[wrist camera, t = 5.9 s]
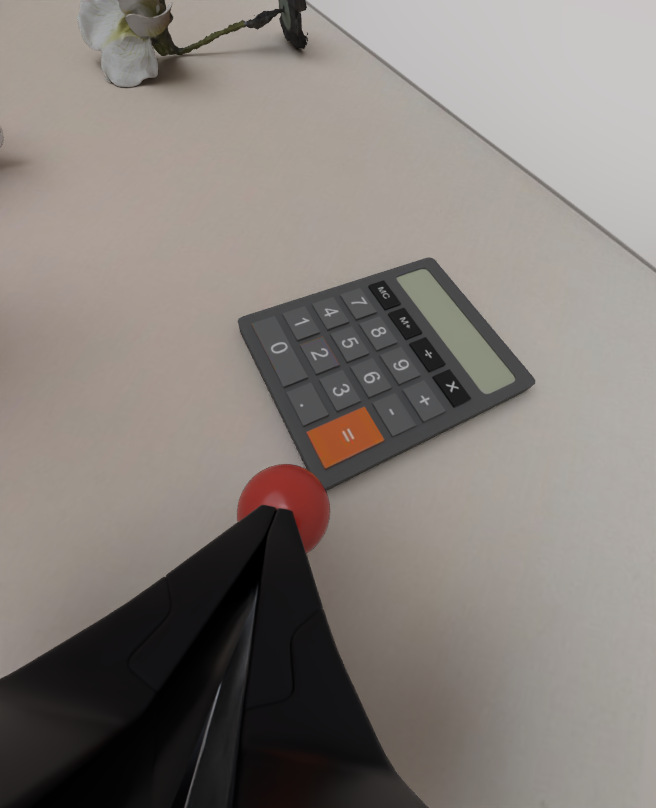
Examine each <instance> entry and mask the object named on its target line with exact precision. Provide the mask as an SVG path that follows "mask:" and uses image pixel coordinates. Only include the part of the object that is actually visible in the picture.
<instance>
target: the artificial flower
mask: <svg viewBox="0 0 656 808" xmlns="http://www.w3.org/2000/svg"><path fill="white" fill-rule="evenodd" d="M171 7H172V2H171V3H170V4H169V5H168V7H167V9H166V5H165V0H81V4H80V12H79V14H78V17H77V20H78V24H79V28H80V31H81V35H82V37H83V39H84V41H85V43H86V44H87V45H88V46H89V47H90V48H92V49H94V50H97V51H101V52H102V60H101V68H102V70H103V72H104V73H105V74H106V76H107V77H106V76H105V78H106V80H107V81H108V82H109V83H111V82H110V81H112V82H113V83H114V84H115V85H116V86H119V87H134V86H136V85H138V84H140V83H141V82H142V81H143V80H144V79H147V78H155V77H156V76H157V74H158V62H157V58H156V56H155V52H154V50H153V48H154V49H155V50H156V51H157V52H158V53H159V54H160V55H161V56H166V55H168V54H169V55H174V54H177V55H182V54H185V53H189V52H191V51H192V50H193V49H198V48H199V47H201V46H202V45H206V44H208V43H210V42H212V41H213V40H214V39H215V38H218V37H219V36H221V35H224V34H228V33H230V32H233V31H237V30H239V29H240V28H242V27H246V26H247V27H249V28H255V29H259V28H261V27H263V26H264V25H265V24H267V23H269V22H270V21H271V20H272V18H273V17H275V16H276V15H277V14H278V13H281V16H280V18H279V19H280V24H281V27H282V29H283V33H284V36H285V38H286V40H287V41H291V43H292V44H294V46H295V47H296V48H297V49H298V48H303V49H304V48H305V45H307V42H308V39H307V36H305V35H304V34H303V31H302V25H301V11H304V10H306V8H307V6H306V2H305V0H279V9H275V10H274V11H263V12H262V13H260V14H258V15H257V16H256V18H255V19H253V20H251V19H250V20H249V21H246V22H245V21H243V20H242V21H241V22H239V23H234V24H233V25H229V27H228V28H226V29H224V30H222V31H217V32H214V34H212V33H211V34H210V36H206V37H205V39H203V40H200V41H199V42H198V43H195V44H192V45H190V46H188V47H185V48H178V47H176V46H175V45H174V43H173V41H172V38H171V35H170V34H169V32H168V25H169V24H170V23H171V21H172V20H173V16H172V14H171V13H170V11H171ZM254 16H255V15H254ZM307 35H308V33H307ZM305 38H306V39H307V42H306V39H305ZM152 46H153V47H152ZM107 78H108V79H109V80H110V81H109V80H108V79H107Z"/></svg>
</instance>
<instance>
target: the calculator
mask: <svg viewBox="0 0 656 808" xmlns="http://www.w3.org/2000/svg"><path fill="white" fill-rule="evenodd" d="M238 324H239V329H240V332H241V334H242V337H243V339H244V341H245V343H246V345H247V347H248V349H249V351H250V353H251V355H252V357H253V359H254V361H255V363H256V365H257V367H258V369H259V371H260V374H261V376H262V378H263V380H264V382H265V384H266V386H267V388H268V390H269V392H270V394H271V396H272V398H273V400H274V402H275V404H276V406H277V408H278V411H279V413H280V415H281V417H282V419H283V421H284V423H285V425H286V427H287V429H288V431H289V433H290V435H291V437H292V439H293V441H294V443H295V445H296V448H297V450H298V452H299V454H300V456H301V458H302V460H303V462H304V464H305V466H306V468H307V470H308V471H310V472H311V473H313V474H314V475H315V476H316V477H317V478H318V479H319V480H320V482H321V483H322V485H323V486H324V488H325V490H328V489H330V488H332V487H334V486H336V485H338V484H340V483H342V482H344V481H346V480H348V479H350V478H352V477H354V476H356V475H358V474H360V473H362V472H364V471H366V470H368V469H370V468H372V467H374V466H376V465H378V464H380V463H382V462H384V461H386V460H388V459H390V458H392V457H394V456H396V455H398V454H400V453H402V452H404V451H406V450H408V449H411V448H413V447H415V446H417V445H419V444H421V443H423V442H425V441H427V440H429V439H431V438H433V437H435V436H437V435H439V434H441V433H443V432H445V431H447V430H449V429H451V428H453V427H455V426H457V425H459V424H461V423H463V422H465V421H467V420H469V419H471V418H473V417H475V416H477V415H479V414H481V413H483V412H485V411H487V410H489V409H491V408H493V407H495V406H497V405H499V404H501V403H503V402H505V401H507V400H509V399H511V398H513V397H515V396H517V395H519V394H521V393H523V392H525V391H526V390H527V389H529V388H530V387H531V386H533V385H534V384H535V379H534V378H533V376H532V375H531V374H530V373H529V372H528V370H527V369H526V368H525V367H524V366H523V364H522V363H521V362H520V361H519V360H518V358H517V357H516V356H515V355H514V354H513V352H512V351H511V350H510V349H509V348H508V347H507V345H506V344H505V343H504V342H503V341H502V339H501V338H500V337H499V336H498V335H497V333H496V332H495V331H494V330H493V329H492V327H491V326H490V325H489V324H488V323H487V322H486V320H485V319H484V318H483V317H482V316H481V314H480V313H479V312H478V311H477V310H476V308H475V307H474V306H473V305H472V304H471V302H470V301H469V300H468V299H467V298H466V297H465V295H464V294H463V293H462V292H461V291H460V289H459V288H458V287H457V286H456V285H455V283H454V282H453V281H452V280H451V279H450V277H449V276H448V275H447V274H446V273H445V272H444V270H443V269H442V268H441V267H440V266H439V264H438V263H437V262H436V261H435V260H434V259H433V258H425V259H422V260H419V261H415V262H412V263H409V264H406V265H403V266H400V267H397V268H394V269H390V270H387V271H384V272H381V273H378V274H375V275H372V276H368V277H365V278H362V279H359V280H356V281H353V282H350V283H347V284H343V285H340V286H337V287H334V288H331V289H328V290H325V291H321V292H318V293H315V294H312V295H309V296H306V297H303V298H299V299H296V300H293V301H290V302H287V303H284V304H281V305H278V306H274V307H271V308H268V309H265V310H262V311H259V312H256V313H252V314H249V315H246V316H243V317H241V318H239V320H238Z"/></svg>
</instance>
